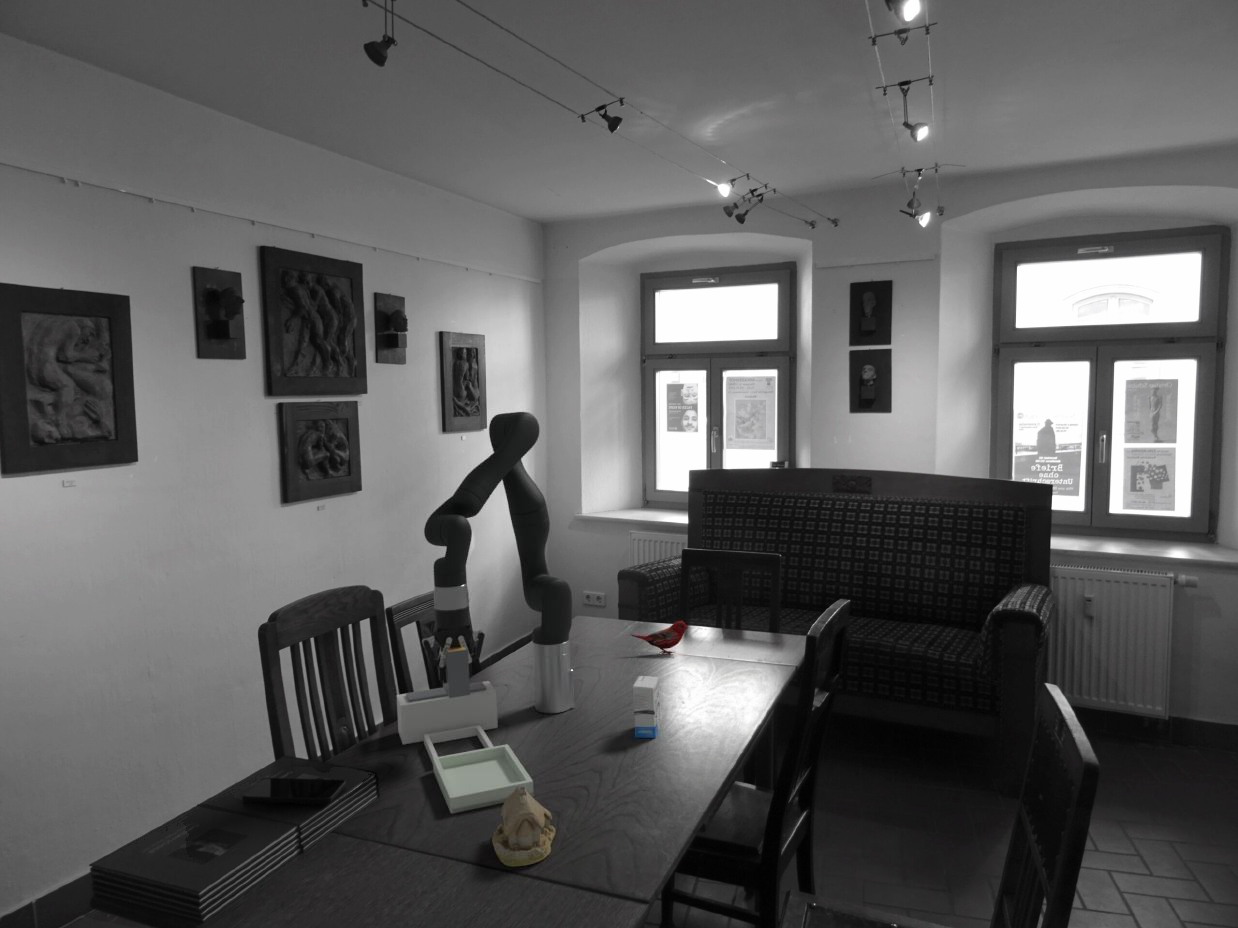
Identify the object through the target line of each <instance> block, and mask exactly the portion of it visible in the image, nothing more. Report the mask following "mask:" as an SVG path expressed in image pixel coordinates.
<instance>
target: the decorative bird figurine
mask: <svg viewBox="0 0 1238 928" xmlns="http://www.w3.org/2000/svg"><path fill="white" fill-rule="evenodd" d="M686 629H690V628H689V626H688V625H686V623H685V622H684V621H683V620H678V621H676V622H674V623H673V624H672V625H670V627H667V628H665V629H660V630H658V631H655V632H653V633H651V634H648V635H640V634H639V635H638V634H630V636H632V637H634V638H638V639H641V640H644V641H645V642H647V644H649V645H650V646H652V647H656V648H658V649H660V650H661V651H659V652H658V654H660V653H661V654H668V655H669V654H672V653H675V651H671V650H667V649H671V648H673V647H675V646H677V645H678V644H679V643H680V642H681V640H682V639H683V636H684V634H685V632H686Z"/></svg>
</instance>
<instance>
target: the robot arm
mask: <svg viewBox="0 0 1238 928" xmlns="http://www.w3.org/2000/svg"><path fill="white" fill-rule="evenodd" d="M488 427H489V428H488V434H489V440H490V444H491V448H492V450H493V453H492V454H490V456H488V457H487V458H486V459H485V460H483V461H482V462H480V463H479V464H478V465H477V466H476V467H474V468H473V469H472V470H471V471H470V472H469V473H468V474H467V475H466V476H465V478H463V480H462V481H461V483H460V484H459V486H458V487H457V488H456V490H455V491H454V493H453V495H452V496H450V497H449V498H448V499H447V500H445V501H444V502H442V504H441V505H439V507H437V508H436V509H435V510H433V512H432V513H431V514H430V515H429V517H428V519H427V520H426V522H425V525H424V528H423V529H424V530H423V534H424V537H425V540H426V541H427V542H428V543H429V544H431V545H432V546H437V547H446V550H445V554H444V556H442V557H439V558H437V559H436V560H435V561H434V563H433V583H434V584H433V585H434V588H433V589H434V590H433V607H434V622H435V624H434V625H435V630H434V633H433V635H432V636H430V637H427V638H426V637H424V638H422V639H421V643H422V645H423V648H424V649H423V650H424V651H425V654H426V656H427V660H428V662H429V663H430V665H431V666H433V667H437V668H438V671H437V672H438V679H439V681H440V682H442V685H443V684H445V683H446V667H445V650H447V649H450V648H456V647H466V648H467V649H468V662H469V681H470V680H471V678H472V676H473V662H474V661H476V660H479V659H480V657H481V653H482V649H483V644H484V641H485V633H484V632H483V631H482V630H480V629H479V630H473V629H472V627H471V619H470V618H471V617H470V614H471V613H470V598H469V597H470V596H469V588H468V584H467V582H468V580H467V578H468V577H467V560H468V557H469V552H470V548H471V543H472V536H473V535H472V534H473V531H472V525H471V524H470V522H469V520H468V519H469V518H473V517H476V516H477V515H478V514H479V513H480V512H481V510H482V509H483V507H484V506H485V505H486V503H487V501H488V500H489V499H490V497H491V495H492V494H493V492H494V491H495V490H496V488H497V487H498V485H499V484H500V483H501V482H502V485H503V488H504V493H505V496H506V499H507V505H508V512H509V517H510V521H511V526H512V529H513V533H514V538H515V542H516V549H517V553H518V559H519V563H520V571H521V579H522V580H521V582H522V590H523V595H524V596H523V597H524V600H525V602H526V604H527V606H528V607H529V608H530V609H532V610H533V611H536V612H537V613H540V614H541V621H540V622H541V623H540V624H541V625H540V626H537V627H535V628H534V629H533V630H532V633H531V640H532V641H531V642H532V661H533V662H532V663H533V684H534V685H533V688H534V692H533V693H534V709H535V710H536V711H537V712H539V713H542V714H543V713H544V714H559V713H562V712H565V711H568V710H570V709H574V708H575V693H574V692H575V691H574V687H575V686H574V670H573V669H572V668H571V657H570V656H571V655H570V653H571V652H570V632H571V629H572V622H573V618H572V617H573V598H572V597H573V595H572V589H571V587H570V584H569V583H568V582H567V581H566V580H565V579H563V578H559V577H554V576H551V575H550V573H549V570H548V564H547V562H546V553H545V551H546V546H547V542H548V538H549V534H550V528H551V527H550V526H551V523H550V515H549V511H548V505H547V502H546V499H545V496H544V494H543V492H542V491H541V489H540V487H538V485H537V483H535V482H534V480H533V479H532V477H531V475H529V473H528V472H527V470H526V468H525V465H524V464H523V462H522V459H523V457H525V456H526V454H527V453H528V452H529V451H530V450H531V449H532V448H533V447H534V446H535V444H536V443H537V442H538V439H539V436H540V424H539V421H538V419H537V418H536V416H535V415H534V414H533V413H531V412H527V411H516V412H505V413H499V414H498V413H497V414H496V415H494V416H493V417H492V418H491V420H490V423H489V426H488ZM472 637H473V640H474V645H473V648H472V653H470V651H469V648H468V646H467V644H468V643H469V641H470V639H471V638H472ZM435 642H436V643H437V644H438V645H439V646H440V649H439V652H438V658H435V656H434V653H433V652H434V651H433V650H432V648H433V647H434V643H435Z"/></svg>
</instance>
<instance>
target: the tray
mask: <svg viewBox="0 0 1238 928" xmlns="http://www.w3.org/2000/svg"><path fill="white" fill-rule="evenodd" d="M432 768H433V771H432V772H433V774H434V777H435V779H436V781H437V784H438V786H439V789H440V791H441V793H442V796H443V798H444V800H445V803H446V805H447V807H448V810H449V812H450V814H456V813H462V812H465V811H471V810H477V809H480V808H485V807H489V806H490V807H491V806H494V805H499V804H504V803H505V801H506V800H507V798H508V797H509V795H511V794H512V793H513V792H514V791H515V789H516V787H517V786H522V787H525V788H526V791H527V792H528V793H529V794H530V795H531V796H532V797H533V798H534V797H535V793H534V781H533V779H532V777H531V776H530V775H529V773H528V772H527V770H526V769H525V767H524V766H523V764H522V763H521V762H520V760H519V758H518V757H517V756H516V754H515V753H514V751H513V749H512V748H511V746H510V745H509V744H508V743H506V744H502V745H496V746H494V747H490V748H479V749H474V750H468V751H465V752H464V751H463V752H459V753H454V754H453V753H452V754H447V755H443V756H438V757H436V758H433V763H432Z"/></svg>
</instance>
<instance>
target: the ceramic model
mask: <svg viewBox="0 0 1238 928" xmlns="http://www.w3.org/2000/svg"><path fill="white" fill-rule="evenodd" d="M500 813H501V814H500V815H501V818H502V820H503V822H502V823H501V824H499V825H498V826H497V828H496V829H495V831H494V833H493V836H492V838H491V841H492V845H493V848H494V851H495V854H496V856H497V857H498V859H499V860H500V862H501V863H503V864H504V865H505V866H507V867H512V868H513V867H521V866H528V865H532V864H536V863H539V862H541V861H542V860H544V859H545V858H547V857H548V856H549V855H550V854H551V851H552V847H551V845H552V842H553V839H554V837H555V836H556V828H555V827H554V826H553V825H550V822H551V821H552V819H553V817H552V813H551V812H550V810H548V809H547V808H545V807H544V806H543V805H542V804H540V803H539V801H537V800H536V799H535V798H534V796H533V797H532V796H531V795H530V794H529V793H528V792H527V791H526V788H525V787H522V786H517V787H516V789H515V791H514V792H513V793H512V794H511V795H509V797H508V798H507V800H506V801H505V803H503V805H502V807H501V811H500Z"/></svg>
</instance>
